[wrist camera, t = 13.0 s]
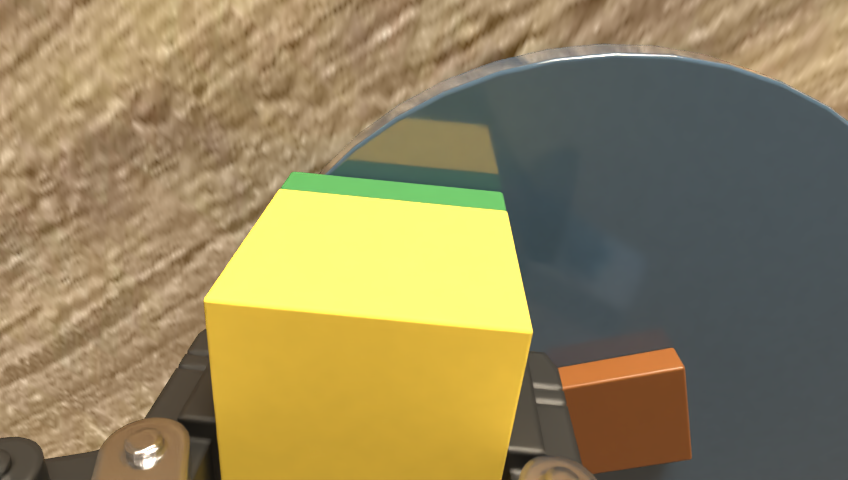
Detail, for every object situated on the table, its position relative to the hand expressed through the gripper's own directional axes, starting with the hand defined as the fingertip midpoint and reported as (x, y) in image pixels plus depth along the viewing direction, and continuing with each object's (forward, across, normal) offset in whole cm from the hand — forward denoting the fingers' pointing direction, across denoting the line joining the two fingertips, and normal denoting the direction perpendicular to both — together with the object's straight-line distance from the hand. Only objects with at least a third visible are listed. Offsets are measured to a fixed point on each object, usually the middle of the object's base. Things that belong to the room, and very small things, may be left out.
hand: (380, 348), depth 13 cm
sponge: (+1, 0, 0) cm, 1 cm away
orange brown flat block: (+1, -6, +2) cm, 6 cm away
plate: (+3, -5, +2) cm, 6 cm away
